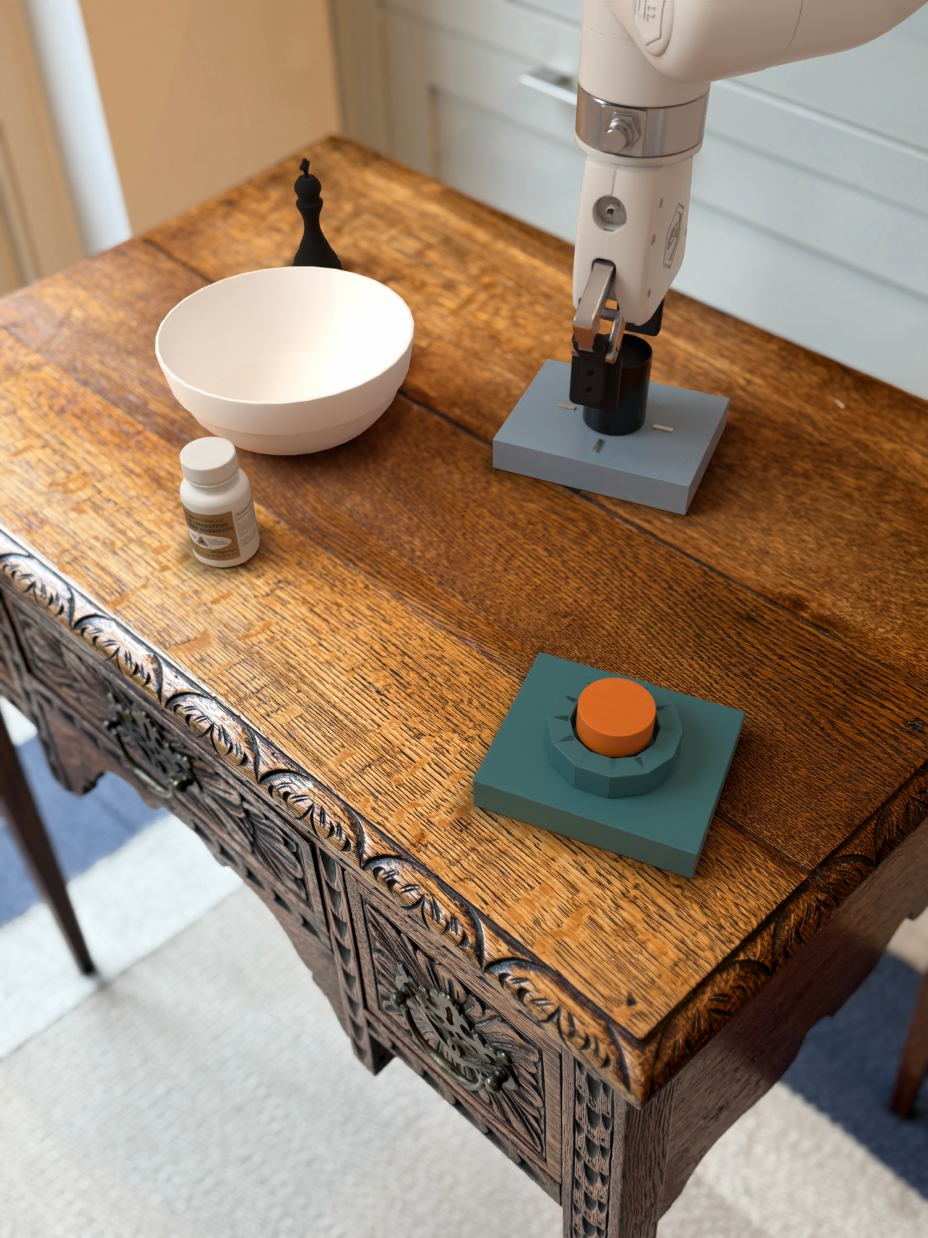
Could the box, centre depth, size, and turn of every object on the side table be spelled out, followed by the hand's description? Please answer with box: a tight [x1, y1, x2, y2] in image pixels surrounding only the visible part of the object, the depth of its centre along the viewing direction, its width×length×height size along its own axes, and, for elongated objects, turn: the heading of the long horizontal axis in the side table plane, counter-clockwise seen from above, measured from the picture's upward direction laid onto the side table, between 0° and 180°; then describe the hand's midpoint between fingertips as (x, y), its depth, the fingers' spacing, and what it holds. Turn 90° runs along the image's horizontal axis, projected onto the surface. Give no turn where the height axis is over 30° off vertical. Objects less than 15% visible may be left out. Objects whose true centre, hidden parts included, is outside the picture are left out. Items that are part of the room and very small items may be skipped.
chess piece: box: [291, 157, 343, 270], centre depth 100 cm, size 4×4×10 cm
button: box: [576, 678, 656, 757], centre depth 61 cm, size 4×4×2 cm
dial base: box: [492, 358, 731, 516], centre depth 84 cm, size 14×11×3 cm
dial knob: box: [583, 332, 654, 436], centre depth 81 cm, size 4×4×6 cm
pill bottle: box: [179, 436, 261, 568], centre depth 75 cm, size 4×4×8 cm
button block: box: [472, 651, 746, 880], centre depth 63 cm, size 12×10×4 cm
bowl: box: [154, 266, 416, 456], centre depth 86 cm, size 18×18×7 cm
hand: (616, 366), depth 81 cm, fingers open, 9 cm apart
